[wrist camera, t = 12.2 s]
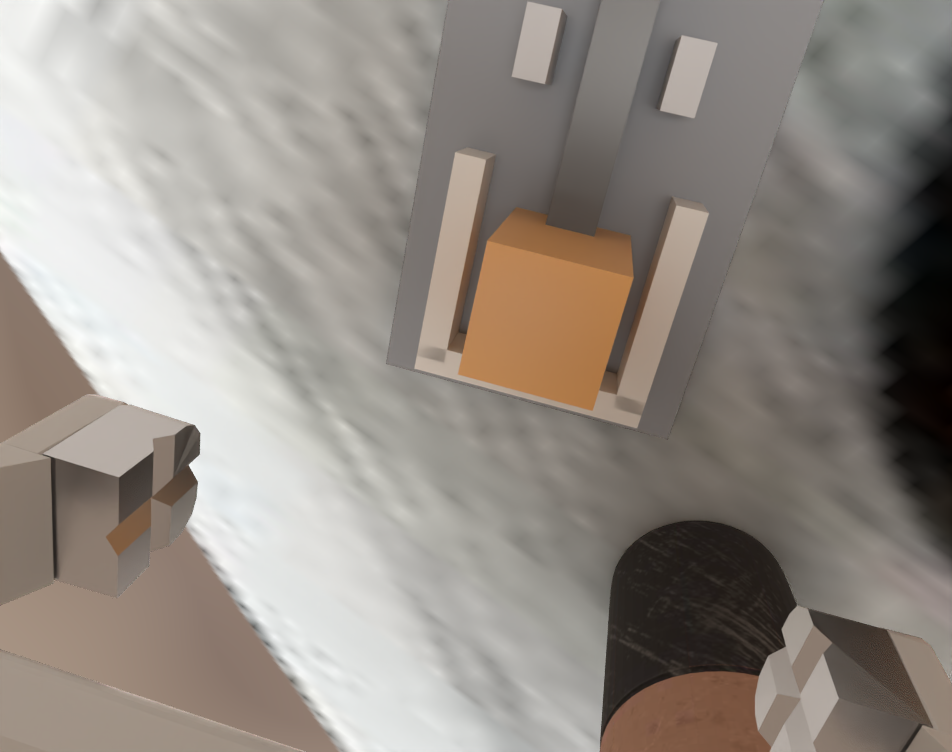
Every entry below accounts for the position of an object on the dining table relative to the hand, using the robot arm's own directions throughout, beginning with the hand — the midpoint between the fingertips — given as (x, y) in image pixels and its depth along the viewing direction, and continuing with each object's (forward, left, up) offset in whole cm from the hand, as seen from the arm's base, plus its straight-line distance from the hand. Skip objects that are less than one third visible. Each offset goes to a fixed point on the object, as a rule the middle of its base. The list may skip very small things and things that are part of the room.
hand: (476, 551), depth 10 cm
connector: (0, -6, -17) cm, 18 cm away
